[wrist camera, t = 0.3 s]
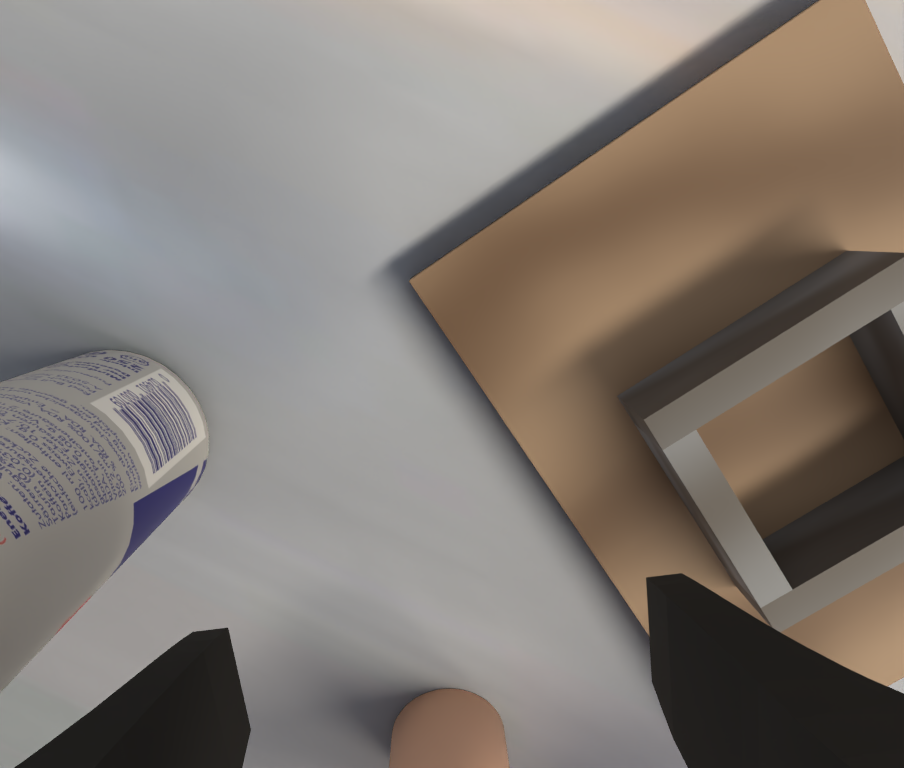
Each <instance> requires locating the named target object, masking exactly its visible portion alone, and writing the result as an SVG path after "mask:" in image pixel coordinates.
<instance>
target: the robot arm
mask: <svg viewBox="0 0 904 768" xmlns="http://www.w3.org/2000/svg"><path fill="white" fill-rule="evenodd" d="M646 587H647V604H648V621H649V638H650V655H651V672H652V683H653V686H654V688H655V691H656V694H657V697H658V699H659V702H660V705H661V708H662V710H663V713H664V716H665V718H666V721H667V723H668V726H669V729H670V731H671V734H672V736H673V739H674V741H675V743H676V745H677V747H678V749H679V751H680V753H681V755H682V757H683V759H684V761H685V763H686V765H687V767H688V768H904V694H903V693H901V692H899V691H896V690H894V689H892V688H890V687H887V686H885V685H883V684H880V683H878V682H876V681H874V680H871V679H869V678H867V677H865V676H863V675H861V674H859V673H856V672H854V671H852V670H850V669H848V668H846V667H844V666H842V665H840V664H838V663H836V662H834V661H832V660H831V659H829V658H827V657H825V656H823V655H821V654H819V653H817V652H815V651H813V650H811V649H810V648H808V647H806V646H804V645H802V644H800V643H798V642H797V641H795V640H793V639H791V638H789V637H788V636H786V635H784V634H782V633H781V632H779V631H777V630H775V629H774V628H772V627H770V626H769V625H767V624H765V623H764V622H762V621H760V620H758V619H757V618H755V617H753V616H752V615H750V614H748V613H747V612H745V611H744V610H742V609H740V608H739V607H737V606H735V605H734V604H732V603H731V602H729V601H727V600H726V599H724V598H723V597H721V596H719V595H718V594H716V593H714V592H713V591H711V590H710V589H708V588H706V587H705V586H703V585H702V584H700V583H698V582H697V581H695V580H693V579H691V578H690V577H688V576H686V575H684V574H682V573H678V574H670V575H662V576H654V577H646ZM250 731H251V729H250V724H249V720H248V715H247V711H246V706H245V702H244V697H243V693H242V688H241V684H240V679H239V675H238V670H237V666H236V661H235V657H234V652H233V648H232V643H231V639H230V634H229V630H228V628H222V629H214V630H206V631H197V632H192V633H191V634H189V635H188V636H186V637H185V638H183V639H182V640H180V641H179V642H178V643H176V644H175V645H174V646H172V647H171V648H170V649H168V650H167V651H166V652H165V653H163V654H162V655H161V656H160V657H158V658H157V659H156V660H154V661H153V662H152V663H151V664H149V665H148V666H147V667H146V668H144V669H143V670H142V671H141V672H140V673H138V674H137V675H136V676H135V677H133V678H132V679H131V680H130V681H128V682H127V683H126V684H124V685H123V686H122V687H121V688H119V689H118V690H117V691H116V692H114V693H113V694H112V695H111V696H109V697H108V698H107V699H106V700H104V701H103V702H102V703H101V704H99V705H98V706H97V707H96V708H94V709H93V710H92V711H91V712H89V713H88V714H87V715H85V716H84V717H83V718H81V719H80V720H78V721H77V722H76V723H74V724H73V725H72V726H70V727H69V728H68V729H66V730H65V731H64V732H62V733H61V734H60V735H58V736H57V737H56V738H54V739H53V740H52V741H50V742H49V743H48V744H46V745H45V746H44V747H42V748H41V749H40V750H38V751H37V752H36V753H34V754H33V755H32V756H30V757H29V758H27V759H26V760H25V761H23V762H22V763H20V764H19V765H17V766H16V767H15V768H242V766H243V762H244V757H245V753H246V748H247V744H248V740H249V735H250Z"/></svg>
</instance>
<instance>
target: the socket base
mask: <svg viewBox="0 0 904 768" xmlns="http://www.w3.org/2000/svg"><path fill="white" fill-rule="evenodd" d="M409 282H410V283H411V285H412V286H413V288H414V289H415V291H416V292H417V294H418V295H419V297H420V298H421V300H422V301H423V303H424V304H425V305H426V307H427V308H428V310H429V311H430V313H431V314H432V316H433V317H434V319H435V320H436V322H437V323H438V325H439V326H440V328H441V329H442V331H443V332H444V334H445V335H446V337H447V338H448V339H449V341H450V342H451V344H452V345H453V347H454V348H455V350H456V351H457V353H458V354H459V356H460V357H461V359H462V360H463V362H464V363H465V365H466V366H467V368H468V369H469V371H470V372H471V373H472V375H473V376H474V378H475V379H476V381H477V382H478V384H479V385H480V387H481V388H482V390H483V391H484V393H485V394H486V396H487V397H488V399H489V400H490V402H491V403H492V405H493V406H494V407H495V409H496V410H497V412H498V413H499V415H500V416H501V418H502V419H503V421H504V422H505V424H506V425H507V427H508V428H509V430H510V431H511V433H512V434H513V436H514V437H515V438H516V440H517V441H518V443H519V444H520V446H521V447H522V449H523V450H524V452H525V453H526V455H527V456H528V458H529V459H530V461H531V462H532V464H533V465H534V467H535V468H536V470H537V471H538V472H539V474H540V475H541V477H542V478H543V480H544V481H545V483H546V484H547V486H548V487H549V489H550V490H551V492H552V493H553V495H554V496H555V498H556V499H557V501H558V502H559V504H560V505H561V506H562V508H563V509H564V511H565V512H566V514H567V515H568V517H569V518H570V520H571V521H572V523H573V524H574V526H575V527H576V529H577V530H578V532H579V533H580V535H581V536H582V538H583V539H584V540H585V542H586V543H587V545H588V546H589V548H590V549H591V551H592V552H593V554H594V555H595V557H596V558H597V560H598V561H599V563H600V564H601V566H602V567H603V569H604V570H605V572H606V573H607V574H608V576H609V577H610V579H611V580H612V582H613V583H614V585H615V586H616V588H617V589H618V591H619V592H620V594H621V595H622V597H623V598H624V600H625V601H626V603H627V604H628V606H629V607H630V608H631V610H632V611H633V613H634V614H635V616H636V617H637V619H638V620H639V622H640V623H641V625H642V626H643V628H644V629H645V631H646V632H647V634H648V635H649V621H648V604H647V587H646V577H654V576H662V575H670V574H678V573H682V574H684V575H686V576H688V577H690V578H691V579H693V580H695V581H697V582H698V583H700V584H702V585H703V586H705V587H706V588H708V589H710V590H711V591H713V592H714V593H716V594H718V595H719V596H721V597H723V598H724V599H726V600H727V601H729V602H731V603H732V604H734V605H735V606H737V607H739V608H740V609H742V610H744V611H745V612H747V613H748V614H750V615H752V616H753V617H755V618H757V619H758V620H760V621H762V622H764V623H765V624H767V625H769V626H770V627H772V628H774V629H775V630H777V631H779V632H781V633H782V634H784V635H786V636H788V637H789V638H791V639H793V640H795V641H797V642H798V643H800V644H802V645H804V646H806V647H808V648H810V649H811V650H813V651H815V652H817V653H819V654H821V655H823V656H825V657H827V658H829V659H831V660H832V661H834V662H836V663H838V664H840V665H842V666H844V667H846V668H848V669H850V670H852V671H854V672H856V673H859V674H861V675H863V676H865V677H867V678H869V679H871V680H874V681H876V682H878V683H880V684H883V685H885V686H889V685H891V684H892V683H894V682H896V681H898V680H900V679H902V678H903V677H904V84H903V82H902V80H901V78H900V76H899V73H898V71H897V69H896V67H895V65H894V62H893V60H892V58H891V56H890V54H889V52H888V49H887V47H886V45H885V43H884V41H883V38H882V36H881V34H880V32H879V30H878V27H877V25H876V23H875V21H874V19H873V17H872V14H871V12H870V10H869V8H868V6H867V3H866V1H865V0H818V1H817V2H815V3H814V4H812V5H811V6H810V7H808V8H807V9H805V10H804V11H802V12H801V13H799V14H798V15H796V16H795V17H793V18H792V19H790V20H789V21H788V22H786V23H785V24H783V25H782V26H780V27H779V28H777V29H776V30H774V31H773V32H771V33H770V34H768V35H767V36H766V37H764V38H763V39H761V40H760V41H758V42H757V43H755V44H754V45H752V46H751V47H749V48H748V49H746V50H745V51H744V52H742V53H741V54H739V55H738V56H736V57H735V58H733V59H732V60H730V61H729V62H727V63H726V64H724V65H723V66H722V67H720V68H719V69H717V70H716V71H714V72H713V73H711V74H710V75H708V76H707V77H705V78H704V79H702V80H701V81H700V82H698V83H697V84H695V85H694V86H692V87H691V88H689V89H688V90H686V91H685V92H683V93H682V94H680V95H679V96H678V97H676V98H675V99H673V100H672V101H670V102H669V103H667V104H666V105H664V106H663V107H661V108H660V109H658V110H657V111H656V112H654V113H653V114H651V115H650V116H648V117H647V118H645V119H644V120H642V121H641V122H639V123H638V124H636V125H635V126H634V127H632V128H631V129H629V130H628V131H626V132H625V133H623V134H622V135H620V136H619V137H617V138H616V139H614V140H613V141H612V142H610V143H609V144H607V145H606V146H604V147H603V148H601V149H600V150H598V151H597V152H595V153H594V154H592V155H591V156H590V157H588V158H587V159H585V160H584V161H582V162H581V163H579V164H578V165H576V166H575V167H573V168H572V169H570V170H569V171H568V172H566V173H565V174H563V175H562V176H560V177H559V178H557V179H556V180H554V181H553V182H551V183H550V184H548V185H547V186H546V187H544V188H543V189H541V190H540V191H538V192H537V193H535V194H534V195H532V196H531V197H529V198H528V199H526V200H525V201H524V202H522V203H521V204H519V205H518V206H516V207H515V208H513V209H512V210H510V211H509V212H507V213H506V214H504V215H503V216H502V217H500V218H499V219H497V220H496V221H494V222H493V223H491V224H490V225H488V226H487V227H485V228H484V229H482V230H481V231H480V232H478V233H477V234H475V235H474V236H472V237H471V238H469V239H468V240H466V241H465V242H463V243H462V244H460V245H459V246H458V247H456V248H455V249H453V250H452V251H450V252H449V253H447V254H446V255H444V256H443V257H441V258H440V259H438V260H437V261H436V262H434V263H433V264H431V265H430V266H428V267H427V268H425V269H424V270H422V271H421V272H419V273H418V274H416V275H415V276H414V277H412V278H411V279H410V280H409Z"/></svg>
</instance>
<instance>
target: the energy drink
mask: <svg viewBox="0 0 904 768" xmlns="http://www.w3.org/2000/svg"><path fill="white" fill-rule="evenodd" d="M208 454H209V433H208V427H207V422H206V418H205V416H204V413H203V411H202V409H201V406H200V404H199V402H198V400H197V399H196V397H195V396H194V394H193V393H192V391H191V390H190V388H189V387H188V386H187V385H186V384H185V383H184V382H183V381H182V380H181V379H180V378H179V377H178V376H177V375H176V374H175V373H173V372H172V371H170V370H169V369H168V368H166V367H165V366H164V365H162V364H160V363H158V362H156V361H154V360H152V359H150V358H148V357H146V356H142V355H139V354H135V353H131V352H128V351H117V350H104V351H94V352H89V353H86V354H83V355H80V356H77V357H73V358H71V359H68V360H65V361H62V362H59V363H56V364H53V365H50V366H47V367H44V368H41V369H38V370H35V371H32V372H29V373H26V374H23V375H20V376H17V377H14V378H11V379H8V380H5V381H2V382H0V693H1V691H2V690H3V689H4V688H5V687H6V686H7V685H8V684H9V683H10V682H11V681H12V680H13V679H14V678H15V677H16V676H17V675H18V674H19V672H20V671H21V670H22V669H23V668H24V667H25V666H26V665H27V664H28V663H29V662H30V661H31V660H32V659H33V658H34V657H35V656H36V655H37V654H38V652H39V651H40V650H41V649H42V648H43V647H44V646H45V645H46V644H47V643H48V642H49V641H50V640H51V639H52V638H53V637H54V636H55V635H56V634H57V632H58V631H59V630H60V629H61V628H62V627H63V626H64V625H65V624H66V623H67V622H68V621H69V620H70V619H71V618H72V617H73V616H74V615H75V614H76V612H77V611H78V610H79V609H80V608H81V607H82V606H83V605H84V604H85V603H86V602H87V601H88V600H89V599H90V598H91V597H92V596H93V595H94V594H95V592H96V591H97V590H98V589H99V588H100V587H101V586H102V585H103V584H104V583H105V582H106V581H107V580H108V579H109V578H110V577H111V576H112V575H113V573H114V572H115V571H116V570H117V569H118V568H119V567H120V566H121V565H122V564H123V563H124V562H125V561H126V560H127V559H128V558H129V557H130V556H131V555H132V553H133V552H134V551H135V550H136V549H137V548H138V547H139V546H140V545H141V544H142V543H143V542H144V541H145V540H146V539H147V538H148V537H149V536H150V535H151V533H152V532H153V531H154V530H155V529H156V528H157V527H158V526H159V525H160V524H161V523H162V522H163V521H164V520H165V519H166V518H167V517H168V516H169V515H170V513H171V512H172V511H173V510H174V509H175V508H176V507H177V506H178V505H179V504H180V503H181V502H182V501H183V500H184V499H185V498H186V497H187V496H188V495H189V493H190V492H191V491H192V489H193V488H194V487H195V486H196V484H197V483H198V482H199V480H200V478H201V475H202V473H203V471H204V469H205V467H206V462H207V458H208Z"/></svg>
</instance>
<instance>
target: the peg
mask: <svg viewBox="0 0 904 768" xmlns="http://www.w3.org/2000/svg"><path fill="white" fill-rule="evenodd" d="M389 768H509V761H508V754H507V746H506V739H505V732H504V726H503V723H502V720H501V718H500V716H499V714H498V712H497V711H496V710H495V708H494V707H493V706H492V705H491V704H490V703H489V702H488V701H486V700H485V699H483V698H482V697H480V696H478V695H476V694H474V693H471V692H468V691H465V690H460V689H439V690H434V691H430V692H427V693H425V694H422V695H420V696H418V697H417V698H415V699H414V700H412V701H411V702H410V703H408V704H407V705H406V706H405V707H404V708H403V710H402V711H401V712H400V714H399V715H398V717H397V719H396V721H395V723H394V726H393V731H392V740H391V751H390V763H389Z"/></svg>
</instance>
